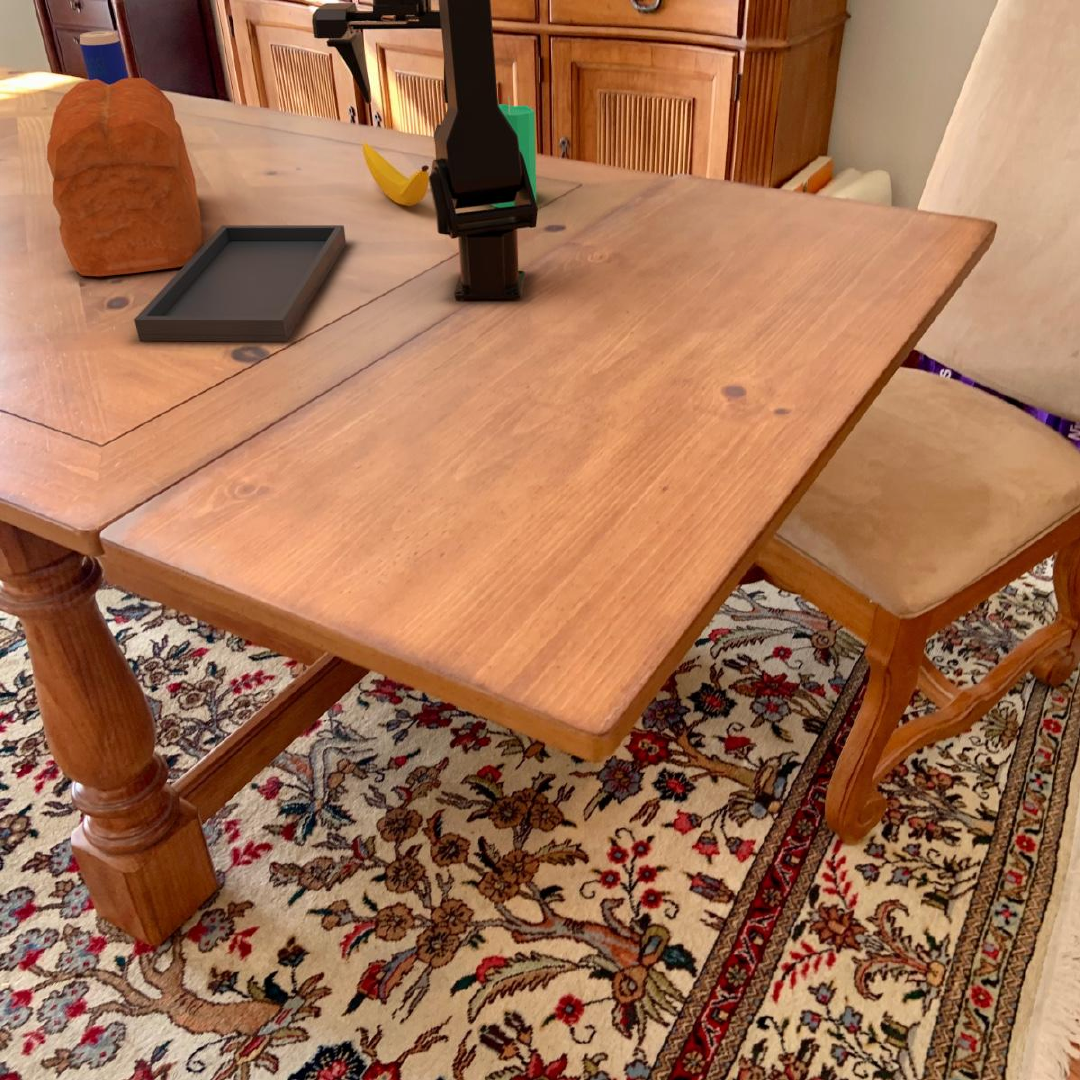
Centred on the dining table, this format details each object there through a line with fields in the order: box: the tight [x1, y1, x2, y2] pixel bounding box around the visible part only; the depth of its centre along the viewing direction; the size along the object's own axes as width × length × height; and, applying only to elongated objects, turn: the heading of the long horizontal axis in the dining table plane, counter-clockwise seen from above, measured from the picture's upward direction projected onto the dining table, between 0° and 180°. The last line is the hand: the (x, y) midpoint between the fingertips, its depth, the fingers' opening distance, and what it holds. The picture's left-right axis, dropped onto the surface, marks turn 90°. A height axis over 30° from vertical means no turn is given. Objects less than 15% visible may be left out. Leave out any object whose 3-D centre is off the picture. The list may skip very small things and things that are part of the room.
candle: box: [491, 94, 537, 208], centre depth 121 cm, size 6×6×12 cm
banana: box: [362, 141, 430, 207], centre depth 123 cm, size 3×19×6 cm, turn 30°
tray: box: [133, 224, 347, 343], centre depth 102 cm, size 26×14×2 cm, turn 177°
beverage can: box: [79, 30, 129, 85], centre depth 143 cm, size 5×5×15 cm
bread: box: [46, 77, 204, 277], centre depth 112 cm, size 14×27×15 cm, turn 18°
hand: (408, 102), depth 118 cm, fingers open, 9 cm apart
